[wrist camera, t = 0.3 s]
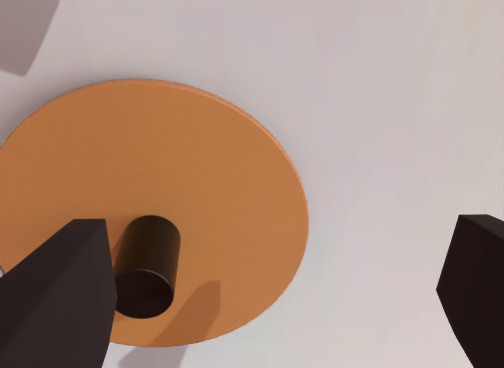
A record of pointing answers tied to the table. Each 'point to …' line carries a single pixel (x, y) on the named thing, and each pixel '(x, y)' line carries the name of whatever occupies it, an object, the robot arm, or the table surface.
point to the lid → (160, 203)
